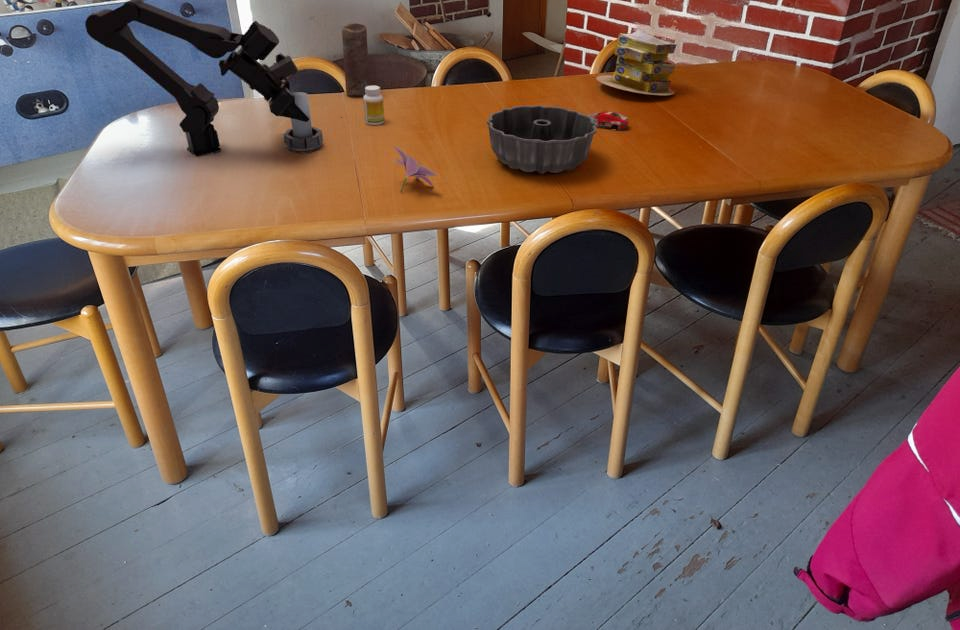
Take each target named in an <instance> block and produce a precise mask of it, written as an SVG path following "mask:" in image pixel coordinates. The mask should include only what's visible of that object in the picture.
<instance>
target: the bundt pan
mask: <svg viewBox="0 0 960 630" xmlns="http://www.w3.org/2000/svg"><path fill="white" fill-rule="evenodd" d="M486 124H487V126H488V131H489V132H488V133H489V134H488V135H489V141H490V147H491V150H492V152H493V153H494V154H495V156H496V158H497V159H498V160H499V161H500V162H502V163H503V164H504V165H508V167H509V168H510V169H512V170H521V171H523V172H525V173H533V172H535V171H536V172H537V173H538V174H540V175H543V174H545V173H547V172H550V173H551V174H552V173H553V174H556V173H557V174H558V173H561V172H563V171H565V170H566V172H568V171H572V170H574V169H575V168H576V167H577V166H579V165H580V164H582V163H583V162H584V161H585V160H586V159H587V157H588V155H589V151H590V148H591V145H592V143H593V142H592V141H593V138H594V135H595V134H596V133H597V128H598V127H597V126H598V124H597V123H595V122H593V119H592V118H591V117H589V116H587V115H585V113H581V112H579V111H578V110H571V109H568V108H565V107H560V106H559V107H558V106H545V105H540V104H539V105H518V106H517V105H516V106H512V107H510V108H502V109H501V110H500V111H495V112H493V113H491V114H490V115H489V118H488V119H487V120H486ZM519 168H520V169H519Z"/></svg>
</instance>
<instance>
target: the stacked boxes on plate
mask: <svg viewBox="0 0 960 630" xmlns="http://www.w3.org/2000/svg"><path fill="white" fill-rule="evenodd" d="M617 37H618V38H617V41H616V43H617V44H616V45H615V49H614V54H613V55H614V56H617V59H616V62H615V64H616V65H615V70H614V72H613V75H599V76H596V81H598V82H599V83H601V84H603V85H606V86H609V87H612V88H615V91H618V90H622V91H627V92H632V93H637V94H644V95H652V96H653V95H654V96H671V95H674V94H675V93H674V92H672V91H669V88H670V86H671V83H672V81H671V80H669V79H670V76H671V75H673V73H674V71H675V68H676V65H675V64H674V63H672V62H668V61H667V59H668V57H669V55H670V54H671V55H672V54H674V53H675V51H676V49H677V43H676V42H671V41H668V40H664V39H661V38H658V37H655V36H653V35H651V34H648V33H647V32H645V31H643V30H641V29H637V30H636V31H634V32H629V33H622V32H621V33H619V34H618V36H617Z"/></svg>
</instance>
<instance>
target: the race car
mask: <svg viewBox="0 0 960 630" xmlns="http://www.w3.org/2000/svg"><path fill="white" fill-rule="evenodd" d="M584 115H587V116H589V117H591V118H592V119H593V122H595V123H597V124H598V126H597V127H596V128H600V127H603V128H602V129H606V128H611V129H610V130H612V129H618V130H617V131H622V130H627V128H628V127H629V118H628V117H627V116H624V115H623V114H620V113H618V112H614V111H609V110H608V111H606V110H604V111H600V112H597V113H594V112H593V113H592V112H591V113H586V114H585V113H584Z"/></svg>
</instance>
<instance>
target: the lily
mask: <svg viewBox="0 0 960 630" xmlns="http://www.w3.org/2000/svg"><path fill="white" fill-rule="evenodd" d="M392 147H393V148H394V149H395V150H396V151H397V153H398V154H399V156H400V157H401V159H400V158H397V159H396V158H395V160H394V161H395V162H396V163H398V164H400V165H401V166H403V167H404V168H405V173H406V176H405V178H404V181H403V182H402V185H401V189H400V192H402V193H403V189H404V186H405V183H406V181H407V179H408V178H409V177H414V178H416V179H418V178H419V179H422V180H424V181H425V182H426V183H428V184H429V185H430V186H431V187H432V186H433V188H435V186H434V185H433V183H432V181H431V180H430V179H429V178H428V177H438V175H437V174H436V173H435V172H434V171H433V170H431V169H429V168H428V167H426V166H424V165H422V164H420V163H419V162H417V160H416V159H415V158H414V157H413V156H408V154H406V153H405V151H403V150H402V149H401V148H399V147H397V146H396V145H394V144H392Z"/></svg>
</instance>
